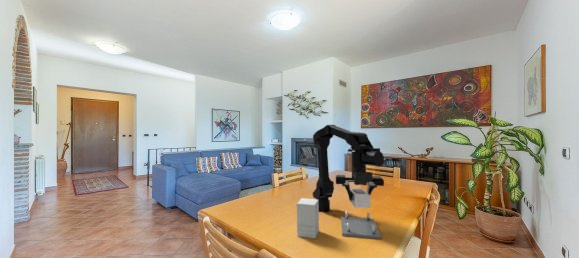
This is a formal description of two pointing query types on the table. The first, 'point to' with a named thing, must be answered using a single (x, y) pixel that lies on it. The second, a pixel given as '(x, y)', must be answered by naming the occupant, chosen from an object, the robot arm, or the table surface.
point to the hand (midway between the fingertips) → (358, 201)
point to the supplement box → (308, 218)
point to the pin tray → (359, 227)
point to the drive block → (360, 198)
